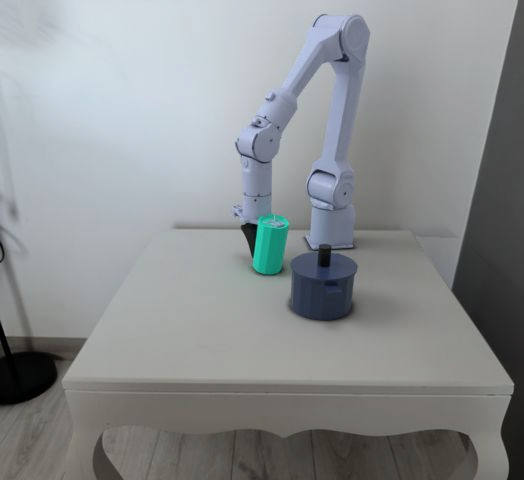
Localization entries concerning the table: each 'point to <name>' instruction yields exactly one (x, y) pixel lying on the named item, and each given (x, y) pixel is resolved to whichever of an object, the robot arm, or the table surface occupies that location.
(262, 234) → the candle
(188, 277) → the table surface
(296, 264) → the pot lid
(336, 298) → the pot
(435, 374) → the table surface
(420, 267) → the table surface
